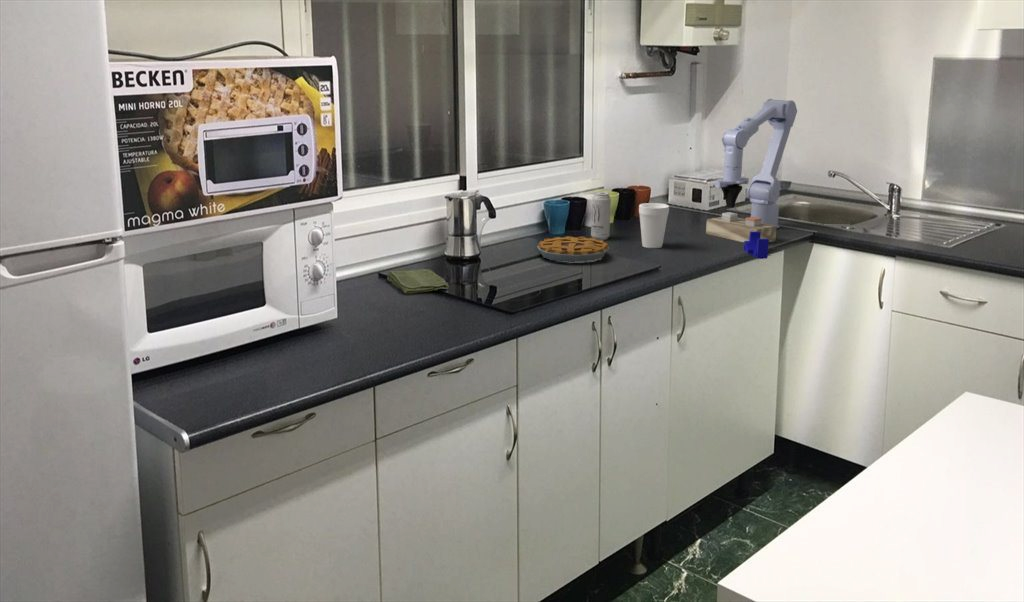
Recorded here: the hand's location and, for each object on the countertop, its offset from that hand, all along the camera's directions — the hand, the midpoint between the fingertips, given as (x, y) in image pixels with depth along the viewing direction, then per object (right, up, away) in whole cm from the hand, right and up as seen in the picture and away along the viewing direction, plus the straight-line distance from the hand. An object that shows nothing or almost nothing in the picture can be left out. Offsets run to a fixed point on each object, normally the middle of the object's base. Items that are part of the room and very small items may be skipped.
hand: (730, 207), depth 329 cm
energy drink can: (-44, -11, -4) cm, 45 cm away
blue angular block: (+2, -17, -24) cm, 30 cm away
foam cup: (-28, -14, -14) cm, 34 cm away
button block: (+3, -10, -1) cm, 11 cm away
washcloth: (-98, -28, -62) cm, 120 cm away
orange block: (+6, -9, -6) cm, 12 cm away
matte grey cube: (0, -7, +2) cm, 7 cm away
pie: (-54, -18, -29) cm, 64 cm away
